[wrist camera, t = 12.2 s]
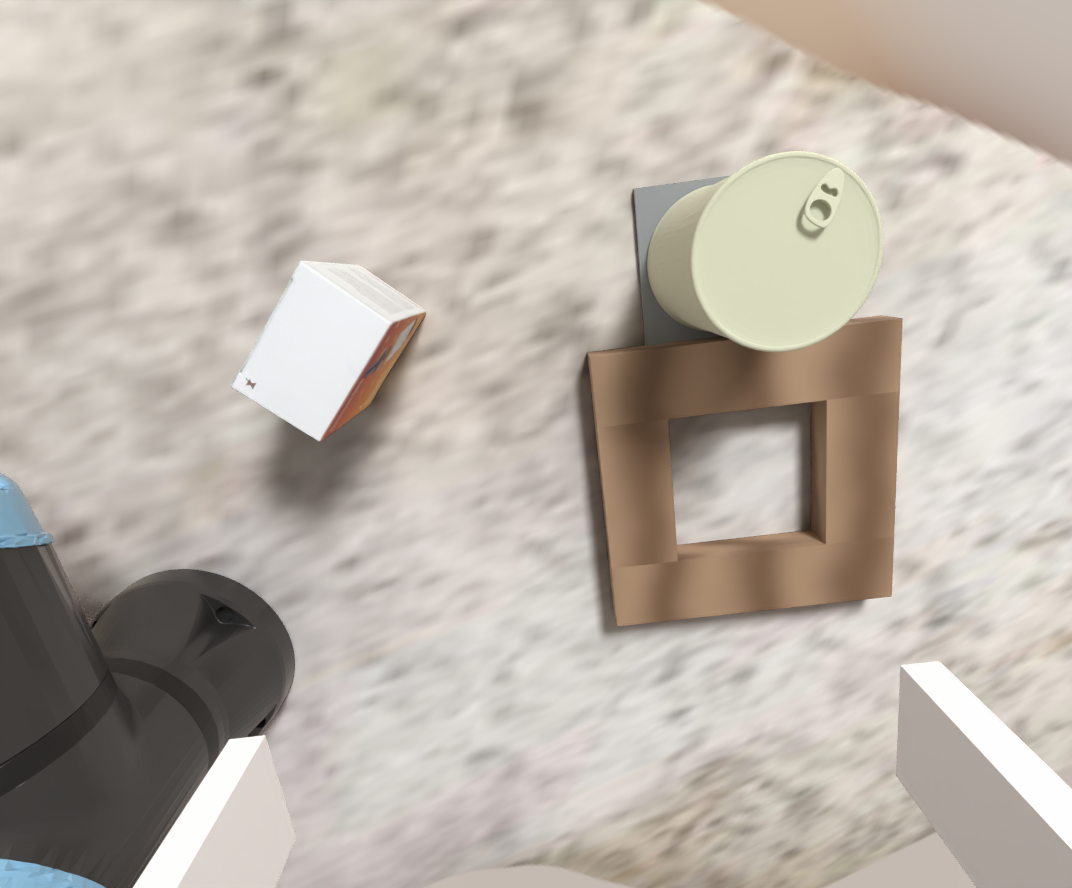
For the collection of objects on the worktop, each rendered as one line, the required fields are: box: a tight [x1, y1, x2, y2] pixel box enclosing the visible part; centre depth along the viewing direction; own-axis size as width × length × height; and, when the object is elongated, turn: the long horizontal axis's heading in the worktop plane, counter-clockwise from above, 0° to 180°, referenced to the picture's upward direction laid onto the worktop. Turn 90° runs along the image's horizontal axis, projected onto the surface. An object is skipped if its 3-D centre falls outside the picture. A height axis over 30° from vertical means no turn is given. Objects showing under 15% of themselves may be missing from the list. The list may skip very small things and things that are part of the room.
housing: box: [587, 316, 902, 626], centre depth 43 cm, size 20×20×2 cm
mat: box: [633, 176, 729, 346], centre depth 40 cm, size 10×10×1 cm
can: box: [647, 151, 883, 352], centre depth 34 cm, size 9×9×12 cm
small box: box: [230, 261, 426, 442], centre depth 37 cm, size 8×6×10 cm
